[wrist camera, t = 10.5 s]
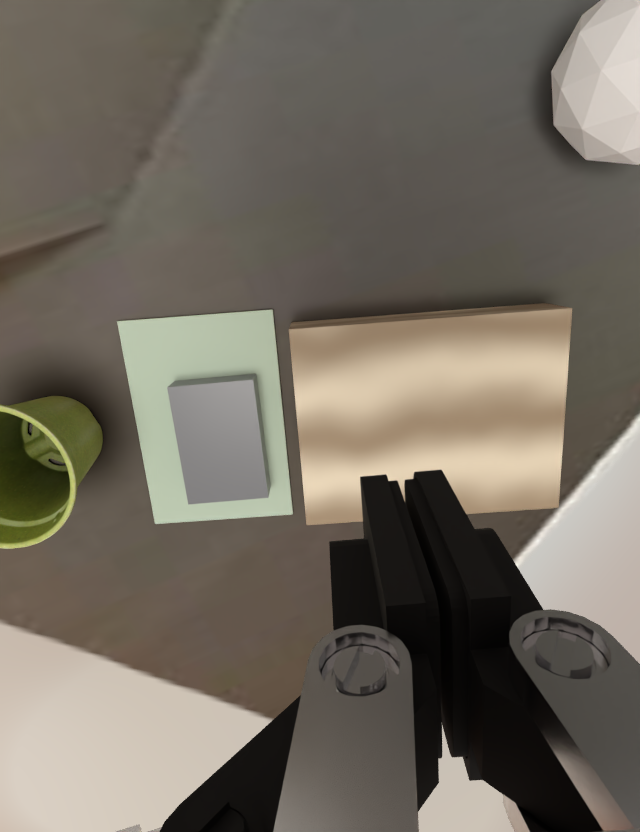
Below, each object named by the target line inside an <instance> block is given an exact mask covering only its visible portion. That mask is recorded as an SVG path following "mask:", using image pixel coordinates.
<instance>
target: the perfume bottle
mask: <svg viewBox="0 0 640 832" xmlns="http://www.w3.org/2000/svg"><path fill="white" fill-rule="evenodd" d="M551 77H552V101H553V124H554V126H555V127H556V129H557V130H558V131H559V132H560V133H561V134H562V135H563V137H564V138H565V139H566V140H567V141H568V142H569V144H570V145H571V146H572V147H573V148H574V149H575V150H576V151H577V152H578V153H579V154H580V155H581V156H582V157H583V158H584V159H585V160H592V161H602V162H613V163H624V164H634V165H639V164H640V0H600V1H599V2H598V3H597V4H595V5H594V6H593V7H592V8H590V9H589V10H588V11H586V12H585V13H584V14H583V15H582V16H581V18H580V20H579V21H578V23H577V25H576V27H575V29H574V31H573V32H572V34H571V36H570V38H569V40H568V41H567V43H566V45H565V47H564V49H563V51H562V52H561V54H560V56H559V58H558V60H557V62H556V63H555V65H554V67H553V69H552V71H551Z"/></svg>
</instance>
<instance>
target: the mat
mask: <svg viewBox="0 0 640 832" xmlns="http://www.w3.org/2000/svg"><path fill="white" fill-rule="evenodd" d="M117 323H118V328H119V334H120V339H121V344H122V350H123V355H124V360H125V366H126V371H127V376H128V382H129V387H130V392H131V398H132V403H133V408H134V414H135V419H136V424H137V430H138V435H139V440H140V446H141V451H142V456H143V462H144V467H145V472H146V478H147V483H148V488H149V493H150V499H151V504H152V509H153V515H154V520H155V524H161V523H176V522H190V521H204V520H219V519H233V518H247V517H262V516H276V515H290V514H293V507H292V497H291V487H290V477H289V467H288V457H287V447H286V437H285V427H284V417H283V406H282V396H281V386H280V376H279V366H278V356H277V346H276V336H275V326H274V315H273V309H271V310H257V311H244V312H231V313H218V314H205V315H191V316H178V317H165V318H152V319H139V320H125V321H117ZM245 374H256V375H257V383H258V390H259V398H260V406H261V414H262V422H263V430H264V437H265V445H266V453H267V461H268V469H269V477H270V484H271V488H270V493H269V498H260V499H248V500H236V501H224V502H212V503H200V504H188V500H187V495H186V489H185V484H184V478H183V473H182V467H181V462H180V456H179V450H178V445H177V439H176V434H175V428H174V423H173V417H172V412H171V406H170V401H169V395H168V390H167V387H168V386H169V385H170V384H172V383H173V382H174V381H178V380H189V379H200V378H212V377H223V376H234V375H245Z"/></svg>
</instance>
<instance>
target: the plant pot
mask: <svg viewBox="0 0 640 832" xmlns="http://www.w3.org/2000/svg"><path fill="white" fill-rule="evenodd" d="M29 422H30V423H32V424H33V426H32V435H29V434H28V423H29ZM102 443H103V435H102V430H101V427H100V425H99V424H98V422H97V421H96V419H95V418H94V416H93V415H92V413H91V412H90V410H89V409H88V408H87V407H86V406H85V405H83V404H82V403H80V402H78V401H76V400H74V399H71V398H68V397H63V396H49V397H44V398H39V399H35V400H31V401H27V402H23V403H18V404H13V405H9V406H6V405H1V404H0V548H6V549H9V548H20V547H27V546H31V545H34V544H37V543H39V542H41V541H43V540H45V539H47V538H49V537H50V536H52V535H53V534H54V533H55V532H57V531H58V530H59V529H60V528H61V527H62V526H63V524H64V523H65V522H66V520H67V519H68V517H69V516H70V514H71V512H72V510H73V507H74V504H75V500H76V495H77V487H78V485H79V484H80V482H81V481H82V479H83V478H84V477H85V475H86V474H87V472H88V471H89V469H90V468H91V466H92V465H93V463H94V462H95V460H96V459H97V457H98V456H99V454H100V452H101V449H102ZM50 458H51V459H53V460H56V461H59V462H62V463H66V465H64V466H63V465H55V464H53V463H51V462H50V461H49V459H50Z"/></svg>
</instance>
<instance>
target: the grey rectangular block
mask: <svg viewBox="0 0 640 832" xmlns="http://www.w3.org/2000/svg"><path fill="white" fill-rule="evenodd" d="M167 390H168V395H169V401H170V406H171V412H172V417H173V423H174V428H175V434H176V439H177V445H178V450H179V456H180V462H181V467H182V473H183V478H184V484H185V489H186V495H187V500H188V504H200V503H212V502H224V501H236V500H248V499H260V498H269V493H270V488H271V484H270V477H269V469H268V461H267V453H266V445H265V437H264V430H263V422H262V414H261V406H260V398H259V390H258V383H257V375H256V374H245V375H234V376H223V377H212V378H200V379H189V380H178V381H174V382H173V383H172V384H170V385H169V386H168V387H167Z"/></svg>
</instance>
